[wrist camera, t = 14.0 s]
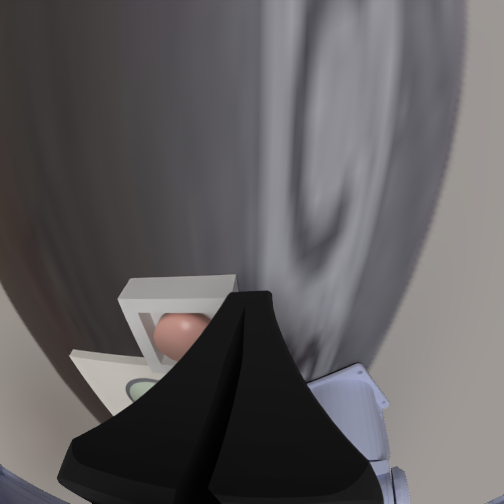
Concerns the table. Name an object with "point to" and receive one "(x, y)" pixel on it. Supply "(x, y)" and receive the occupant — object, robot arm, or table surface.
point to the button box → (170, 307)
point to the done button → (178, 333)
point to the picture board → (115, 377)
